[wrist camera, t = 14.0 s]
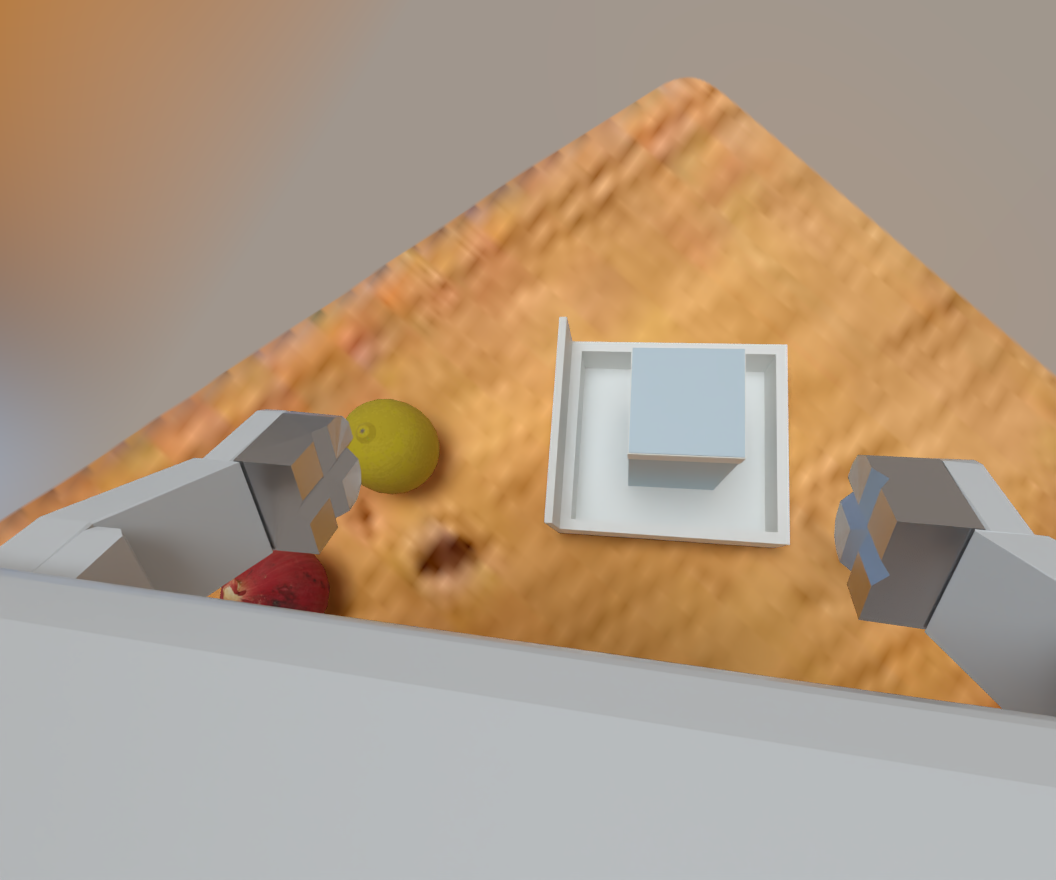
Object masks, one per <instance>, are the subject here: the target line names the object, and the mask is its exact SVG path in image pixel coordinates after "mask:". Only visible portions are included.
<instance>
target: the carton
mask: <svg viewBox="0 0 1056 880" xmlns="http://www.w3.org/2000/svg"><path fill="white" fill-rule="evenodd" d="M627 459H628V486H642V487H662V488H682V489H702V490H714V489H715V488H716V487H717V486H718V485H719V484H720V482H721V481H722V480H723V479H724V478H725V477H726V476H727V475H728V474H729V473H730V472H731V471H732V470H733V469H734V468H735V467H736V466H737V465H738V464H741V463H742V462H743V461H744V460H745V459H746V352H745V349H727V348H636V347H632V352H631V377H630V402H629V427H628V452H627Z"/></svg>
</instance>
